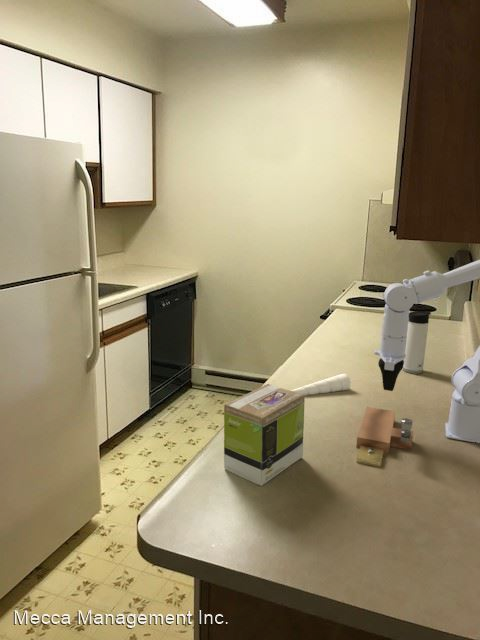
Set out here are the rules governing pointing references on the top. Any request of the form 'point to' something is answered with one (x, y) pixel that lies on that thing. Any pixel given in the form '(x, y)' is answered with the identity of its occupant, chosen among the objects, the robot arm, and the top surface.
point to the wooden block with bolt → (370, 456)
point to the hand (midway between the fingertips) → (388, 389)
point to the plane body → (380, 431)
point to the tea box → (263, 433)
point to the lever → (406, 429)
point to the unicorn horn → (326, 385)
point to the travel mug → (416, 341)
